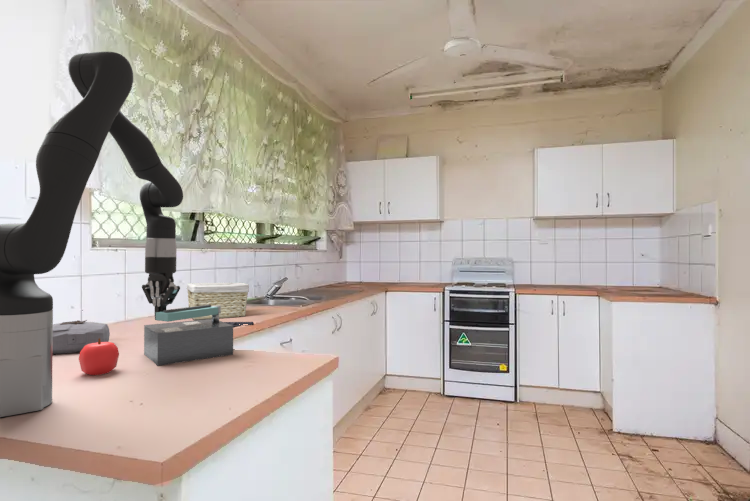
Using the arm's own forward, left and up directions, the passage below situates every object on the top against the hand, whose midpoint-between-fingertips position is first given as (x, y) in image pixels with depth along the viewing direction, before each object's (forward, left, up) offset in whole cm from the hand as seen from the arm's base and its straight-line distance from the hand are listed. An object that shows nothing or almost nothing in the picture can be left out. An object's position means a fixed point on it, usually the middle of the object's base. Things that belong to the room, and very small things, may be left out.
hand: (160, 320), depth 115 cm
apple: (-7, +14, -10) cm, 19 cm away
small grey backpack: (+27, +18, -10) cm, 34 cm away
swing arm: (-2, -8, +1) cm, 8 cm away
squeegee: (+35, -31, -11) cm, 48 cm away
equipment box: (-1, -7, -10) cm, 12 cm away
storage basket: (+66, -38, -10) cm, 76 cm away
